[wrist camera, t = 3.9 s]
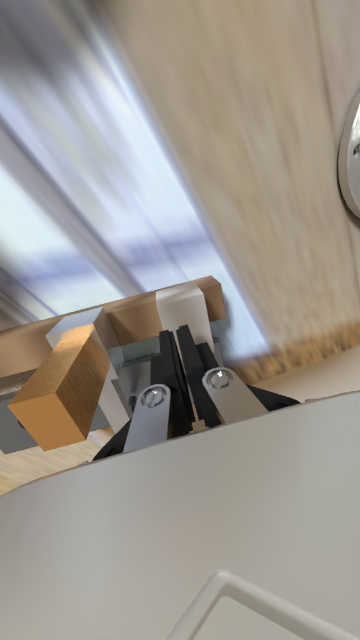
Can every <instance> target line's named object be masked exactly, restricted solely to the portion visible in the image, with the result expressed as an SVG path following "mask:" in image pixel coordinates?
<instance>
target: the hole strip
mask: <svg viewBox="0 0 360 640" xmlns="http://www.w3.org/2000/svg"><path fill="white" fill-rule="evenodd" d="M212 340H213V345H214V350H215V352H214V353H213V355H214V357H215V359H216V361H217V363H218V365H219V367H224V365H223V359H222V353H221V348H220V342H219V341H218V339H217V338H213V339H212ZM160 354H161V353H157V354H153V355H150V356H146V357H142V358H138V359H135V360H131V361H127V362H124V363H122V365H121V369H120V373H119V378H117V381H118V383H119V385H120V387H121V389H122V392H123V394H124V396H125V398H126V400H127V402H128V401H129V397H130V396H136V397H137V399H138V397H139V395H140V393H141V392H142V391H143V390H145V389H146V388H147V387H149V386H150V368H151V357H153V356H157V355H160ZM182 365H183V368H184V364H183V361H182ZM184 372H185V369H184ZM185 377H186V381H187V385H188V390H189V394H190V399H191V403H192V404H193V403H194V401H193V397H192V394H191V390H190V387H189V383H188V380H187V376H186V372H185ZM18 392H19V391H15V392H11V393H8V394H4V395H0V450H1V451H2V452H3V453H4V454H9V453H12V452H16V451H20V450H23V449H27V448H31V447H34V446H38V443H37V442H36V441H35V440H34V438H33V437H32V436H31V435H30V434H29V432H28V431H27V430H26V429H25V427H24V426H23V425H22V424H21V423H20V421H19V420H18V419H17V418H16V416H15V415H14V414H13V413H12V412H11V410H10V409H9V408H8V407H7V405H8V404H9V403H10V401H11V400H12V399H13V398H14V396H15V395H16V394H17V393H18ZM108 426H111V425H110V423H109V421H108V420H107V418H106V416H105V414H104V412H103V411H102V409H101V407H100V405H99V403H98V404H97V407H96V411H95V414H94V417H93V420H92V423H91V426H90V429H89V432H90V431H93V430H97V429H101V428H104V427H108Z"/></svg>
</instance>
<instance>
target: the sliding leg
mask: <svg viewBox="0 0 360 640" xmlns="http://www.w3.org/2000/svg"><path fill="white" fill-rule="evenodd" d="M45 337H46V338H47V340H48V342H49V343H50V345H51V347H52V349H53V351H52V352H51V353H50V354H49V355H48V357H47V358H46V359H45V360H44V361H43V363H42V364H41V365H40V366H39V368H38V369H37V370H36V371H35V372H34V374H33V375H32V376H31V377H30V378H29V380H28V381H27V382H26V383H25V384H24V386H23V387H22V388H21V389H20V390H19V392H18V393H17V394H16V395H15V396H14V398H13V399H12V400H11V401H10V403H9V404H8V405H7V407H8V408H9V409H10V410H11V412H12V413H13V414H14V415H15V416H16V418H17V419H18V420H19V421H20V423H21V424H22V425H23V426H24V427H25V429H26V430H27V431H28V432H29V434H30V435H31V436H32V437H33V438H34V440H35V441H36V442H37V443H38V445H39V446H40V447H41V448H42V449H43V451H48V450H52V449H55V448H59V447H63V446H66V445H70V444H74V443H77V442H81V441H85V440H86V439H87V436H88V433H89V429H90V426H91V423H92V420H93V417H94V414H95V411H96V407H97V404H98V403H99V405H100V407H101V409H102V411H103V412H104V414H105V416H106V418H107V420H108V421H109V423H110V425H111V427H112V429H113V430H114V432H115V434H116V433H117V432H118V431H119V430H120V429H121V428H122V427H123V426H124V425H125V424H126V423H127V422H128V421H129V420H130V419H131V418H132V417H133V413H134V410H135V406H136V402H137V397H136V396H130V397H129V401H128V402H127V400H126V398H125V396H124V394H123V392H122V389H121V387H120V385H119V383H118V381H117V378H119V373H120V369H121V365H122V361H123V356H124V353H123V351H122V349H121V346H120V344H119V342H118V339H117V337H116V334H115V332H114V330H113V327H112V325H111V323H110V320H109V318H108V316H107V313H106V311H105V308H104V307H100V308H96V309H92V310H88V311H85V312H81V313H77V314H73V315H70V316H66V317H64V318H63V319H62V320H61V321H60V322H59V323H58V324H57V325H56V326H55V327H54V328H53V329H52V330H51V331H50V332H49V333H48V334H46V335H45Z"/></svg>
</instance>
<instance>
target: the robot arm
mask: <svg viewBox="0 0 360 640" xmlns="http://www.w3.org/2000/svg"><path fill="white" fill-rule="evenodd" d="M338 169H339V182H340V186H341V191H342V195H343V197H344V199H345V201H346V203H347V206H348V207H349V208H350V210H351V211H352V212H353V213H354V215H355V216H357V217H358V218H359V219H360V90H359V92H358V94H357V96H356V98H355V99H354V102H353V104H352V107H351V109H350V112H349V114H348V117H347V120H346V122H345V126H344V130H343V134H342V138H341V142H340V150H339V159H338ZM176 334H177V338H178V343H179V347H180V351H181V356H182V360H183V364H184V368H183V365H182V361H181V358H180V354H179V351H178V347H177V344H176V340H175V337H174V334H173V331H170V332H169V330H164V331H160V332H159V337H160V352H161V354H160V355H157V356H153V357H151V368H150V386H149V387H147V388H146V389H145V390H143V391H142V392H141V393H140V395H139V397H138V399H137V402H136V406H135V410H134V413H133V417H132V418H131V419H130V420H129V421H128V422H127V423H126V424H125V425H124V426H123V427H122V428H121V429H120V430H119V431H118V432H117V433H116V434H115V435H114V436H113V437H112V439H111V440H110V441H109V442H108V443H107V444H106V445H105V446H104V447H103V448H102V449H101V450H100V451H99V452H98V453H97V455H96V456H95V457H94V459H93V460H92V462H88V461H85V462H83V463H81V464H79V465H77V466H75V467H72V468H69V469H66V470H62V471H59V472H56V473H53V474H50V475H47V476H44V477H41V478H38V479H36V480H33V481H31V482H28V483H26V484H23V485H21V486H19V487H17V488H15V489H13V490H11V491H9V492H7V493H5V494H3V495H1V496H0V640H360V390H359V391H353V392H346V393H341V394H337V395H333V396H329V397H324V398H320V399H306V400H305V402H304V403H300V402H299V401H297V400H295V399H292V398H289V397H286V396H283V395H279V394H276V393H273V392H269V391H266V390H263V389H259V388H256V387H253V386H250V385H246V384H244V382H243V381H242V380H241V379H240V378H239V377H238V376H237V374H236V373H235V372H234V371H232V370H231V369H229V368H225V367H219V365H218V363H217V361H216V359H215V357H214V355H213V353H212V351H211V349H210V347H209V345H208V343H207V342H204V343H201V344H197V345H195V343H194V340H193V337H192V335H191V332H190V329H189V327H188V324H186V325H183V326H179V329H177V330H176ZM184 369H185V372H186V376H187V380H188V383H189V387H190V390H191V394H192V397H193V401H194V404H195V408H196V411H197V415H198V418H199V420H203V419H204V423H205V426H206V427H207V426H208V427H210V428H209V429H205V430H201V431H198V432H194V433H190V434H188V433H189V432H190V431H192V430H193V428H192V422H195V417H194V412H193V407H192V403H191V399H190V394H189V390H188V385H187V381H186V377H185V372H184Z"/></svg>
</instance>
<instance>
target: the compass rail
mask: <svg viewBox="0 0 360 640" xmlns="http://www.w3.org/2000/svg"><path fill="white" fill-rule="evenodd" d="M100 307H104V308H105V311H106V313H107V316H108V318H109V320H110V323H111V325H112V327H113V330H114V332H115V334H116V337H117V339H118V342H119V344H120V346H122V345H126V344H130V343H133V342H137V341H141V340H145V339H148V338H152V337H156V336H159V332H160V331H164V330H169V332H170V331H173V334H174V337H175V340H176V344H177V347H178V351H179V354H180V358H181V361H183V360H182V356H181V351H180V347H179V343H178V338H177V334H176V330H177V329H179V326H183V325H186V324H188V327H189V329H190V332H191V335H192V337H193V340H194V343H195V345H197V344H201V343H204V342H207V343H208V345H209V347H210V349H211V351H212V353H214V352H215V350H214V345H213V340H212V335H211V329H210V324H209V322H212V321H216V320H220V319H223V318H226V314H225V308H224V301H223V295H222V288H221V283H219V282H218V281H217V280H216V279H214V278H213V277H212V276H208V277H204V278H200V279H196V280H192V281H189V282H185V283H181V284H177V285H173V286H170V287H166V288H162V289H158V290H155V291H151V292H147V293H143V294H139V295H136V296H132V297H128V298H124V299H120V300H117V301H113V302H109V303H105V304H102V305H98V306H94V307H90V308H86V309H83V310H79V311H75V312H71V313H67V314H64V315H60V316H56V317H52V318H48V319H45V320H41V321H37V322H33V323H30V324H26V325H22V326H18V327H14V328H11V329H7V330H3V331H0V378H2V377H6V376H10V375H13V374H17V373H21V372H25V371H28V370H32V369H36V368H39V366H40V365H41V364H42V363H43V361H44V360H45V359H46V358H47V357H48V355H49V354H50V353H51V352H52V351H53V349H52V347H51V345H50V343H49V342H48V340H47V338H46V337H45V335H46V334H48V333H49V332H50V331H51V330H52V329H53V328H54V327H55V326H56V325H57V324H58V323H59V322H60V321H61V320H62V319H63V318H64V317H66V316H70V315H73V314H77V313H81V312H85V311H88V310H92V309H96V308H100ZM200 422H201V425H202V426H204V425H205V423H204V419H203V420H200Z"/></svg>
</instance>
